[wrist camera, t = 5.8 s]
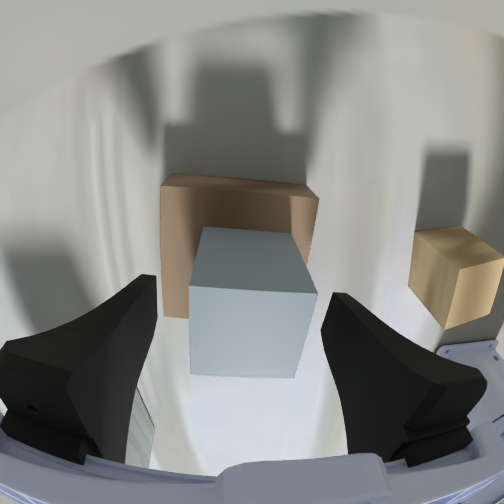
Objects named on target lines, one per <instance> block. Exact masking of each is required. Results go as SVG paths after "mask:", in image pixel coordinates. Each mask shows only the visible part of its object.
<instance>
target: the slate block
mask: <svg viewBox="0 0 504 504" xmlns="http://www.w3.org/2000/svg"><path fill="white" fill-rule="evenodd" d="M317 295H318V293H317V290H316V288H315V286H314V283H313V281H312V279H311V276H310V274H309V272H308V269H307V267H306V265H305V263H304V260H303V258H302V256H301V253H300V251H299V249H298V247H297V244H296V242H295V240H294V238H293V236H292V234H290V233H279V232H267V231H255V230H243V229H230V228H217V227H203V231H202V234H201V238H200V242H199V246H198V250H197V254H196V258H195V262H194V266H193V271H192V275H191V279H190V283H189V346H190V374H196V375H209V376H225V377H247V378H294V377H295V374H296V370H297V367H298V364H299V361H300V357H301V354H302V350H303V347H304V343H305V340H306V336H307V333H308V329H309V326H310V322H311V318H312V315H313V311H314V307H315V303H316V299H317Z"/></svg>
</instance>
